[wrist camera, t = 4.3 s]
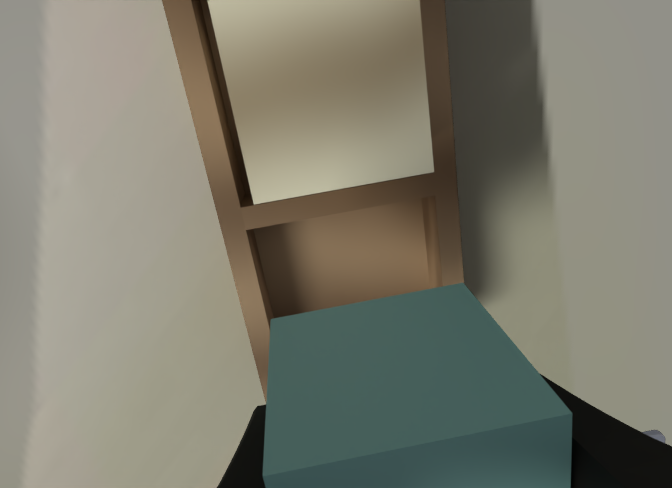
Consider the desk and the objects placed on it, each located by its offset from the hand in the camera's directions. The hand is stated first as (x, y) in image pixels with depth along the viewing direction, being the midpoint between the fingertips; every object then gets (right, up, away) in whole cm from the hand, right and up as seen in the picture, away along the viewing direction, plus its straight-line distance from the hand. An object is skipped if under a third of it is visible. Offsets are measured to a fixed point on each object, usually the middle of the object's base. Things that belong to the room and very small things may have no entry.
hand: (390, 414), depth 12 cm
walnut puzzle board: (-2, +7, +7) cm, 10 cm away
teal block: (0, 0, +1) cm, 2 cm away
